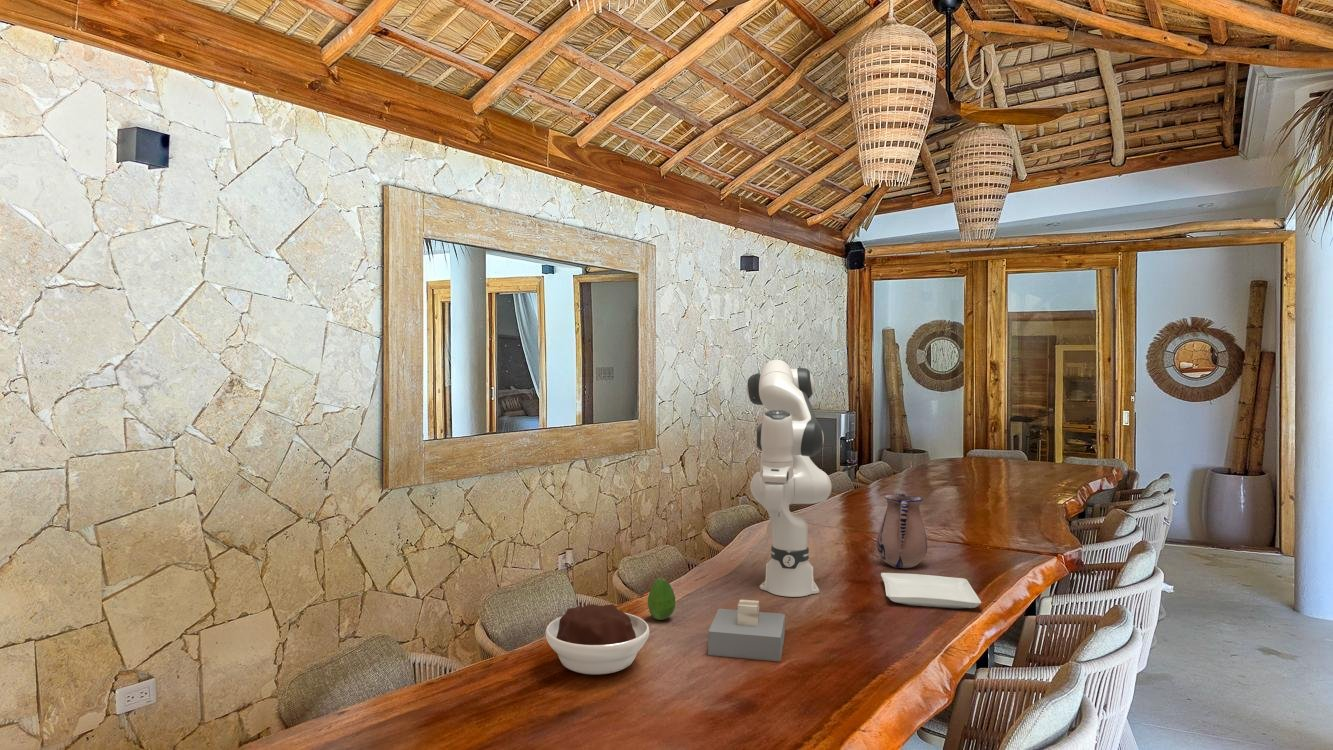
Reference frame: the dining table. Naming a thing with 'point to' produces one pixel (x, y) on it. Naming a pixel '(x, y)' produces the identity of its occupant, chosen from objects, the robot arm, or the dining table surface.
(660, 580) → the avocado
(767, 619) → the pedestal
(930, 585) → the square plate
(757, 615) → the cream cube
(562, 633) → the chocolate pudding bowl
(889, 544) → the ceramic pitcher
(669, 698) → the dining table surface
